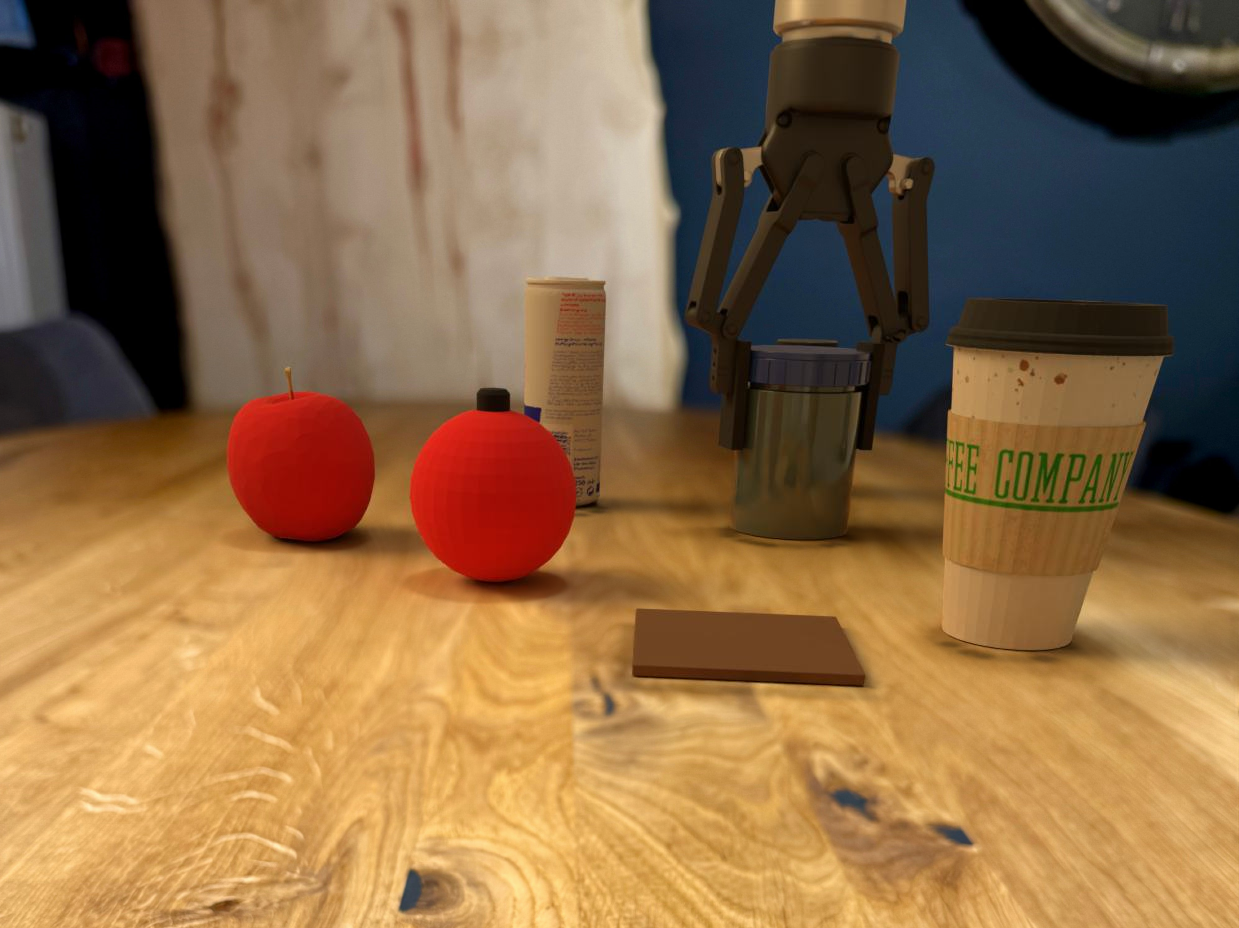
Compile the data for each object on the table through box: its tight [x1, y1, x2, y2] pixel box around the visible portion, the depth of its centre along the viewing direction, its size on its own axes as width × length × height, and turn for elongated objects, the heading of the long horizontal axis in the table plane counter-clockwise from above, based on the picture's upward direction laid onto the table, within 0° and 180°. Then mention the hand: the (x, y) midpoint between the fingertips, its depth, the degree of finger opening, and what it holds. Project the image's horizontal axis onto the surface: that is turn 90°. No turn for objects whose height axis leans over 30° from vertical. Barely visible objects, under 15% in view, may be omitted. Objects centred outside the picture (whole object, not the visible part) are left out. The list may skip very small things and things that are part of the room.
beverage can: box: [523, 276, 607, 507], centre depth 90 cm, size 6×6×15 cm
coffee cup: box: [941, 297, 1176, 651], centre depth 60 cm, size 10×10×15 cm
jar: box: [728, 382, 863, 541], centre depth 84 cm, size 8×8×11 cm
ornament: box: [409, 387, 577, 583], centre depth 68 cm, size 9×9×10 cm
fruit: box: [226, 366, 376, 543], centre depth 78 cm, size 9×9×10 cm
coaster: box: [631, 607, 866, 687], centre depth 59 cm, size 10×10×1 cm
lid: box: [748, 344, 871, 387], centre depth 82 cm, size 8×8×2 cm
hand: (795, 447), depth 84 cm, fingers closed on lid, 8 cm apart
